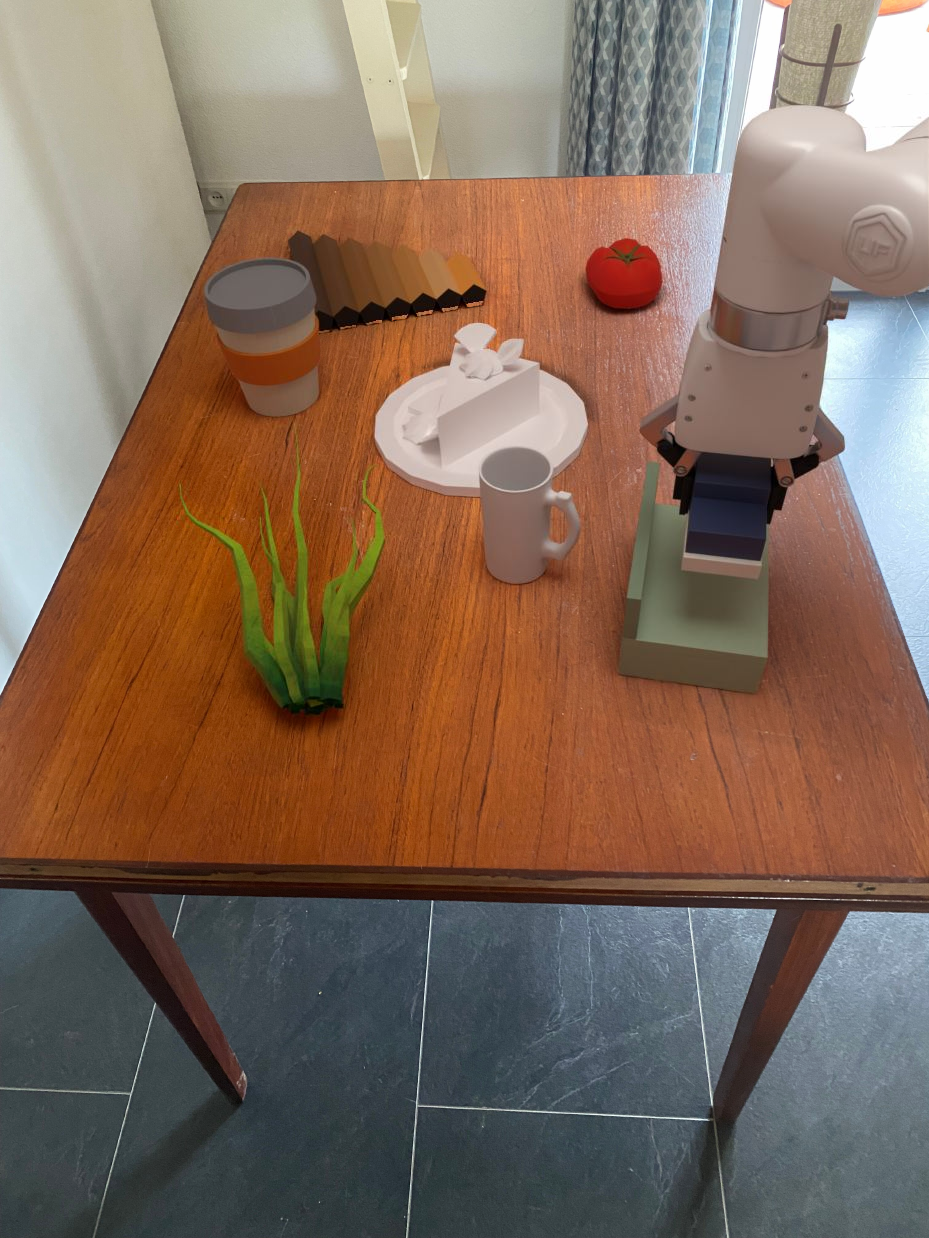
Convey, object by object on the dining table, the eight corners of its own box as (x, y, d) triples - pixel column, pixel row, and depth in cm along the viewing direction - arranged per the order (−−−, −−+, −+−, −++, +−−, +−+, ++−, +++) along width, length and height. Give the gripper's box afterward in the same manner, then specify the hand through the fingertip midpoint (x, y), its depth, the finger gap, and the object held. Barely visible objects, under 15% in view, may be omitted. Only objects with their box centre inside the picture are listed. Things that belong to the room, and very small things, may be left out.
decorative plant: (421, 511, 98) (408, 394, 87) (344, 736, 78) (315, 621, 67) (263, 497, 100) (232, 382, 90) (151, 709, 81) (94, 595, 70)
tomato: (602, 322, 121) (605, 275, 117) (577, 284, 129) (578, 238, 124) (671, 310, 123) (676, 263, 118) (642, 273, 130) (646, 228, 125)
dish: (439, 354, 118) (432, 271, 110) (619, 398, 109) (626, 312, 101) (334, 460, 104) (317, 375, 96) (531, 521, 95) (531, 433, 87)
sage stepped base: (759, 553, 90) (779, 474, 83) (756, 694, 79) (780, 616, 71) (638, 539, 93) (647, 461, 85) (617, 674, 81) (626, 597, 74)
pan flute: (290, 253, 140) (309, 335, 123) (286, 232, 137) (305, 312, 121) (447, 228, 143) (487, 304, 126) (446, 207, 140) (486, 281, 124)
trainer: (691, 462, 82) (700, 411, 78) (760, 469, 81) (772, 417, 77) (680, 570, 73) (689, 518, 69) (758, 579, 72) (772, 527, 68)
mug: (470, 572, 91) (464, 477, 82) (504, 532, 94) (501, 437, 86) (560, 607, 87) (564, 512, 78) (591, 564, 91) (598, 469, 82)
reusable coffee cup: (278, 358, 120) (252, 248, 108) (353, 384, 115) (334, 271, 103) (212, 407, 113) (178, 294, 102) (289, 436, 108) (261, 321, 97)
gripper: (894, 292, 64) (830, 491, 77) (645, 277, 67) (625, 470, 80) (903, 349, 59) (834, 551, 72) (634, 330, 62) (616, 526, 75)
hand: (724, 507), depth 76 cm, fingers closed on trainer, 6 cm apart
